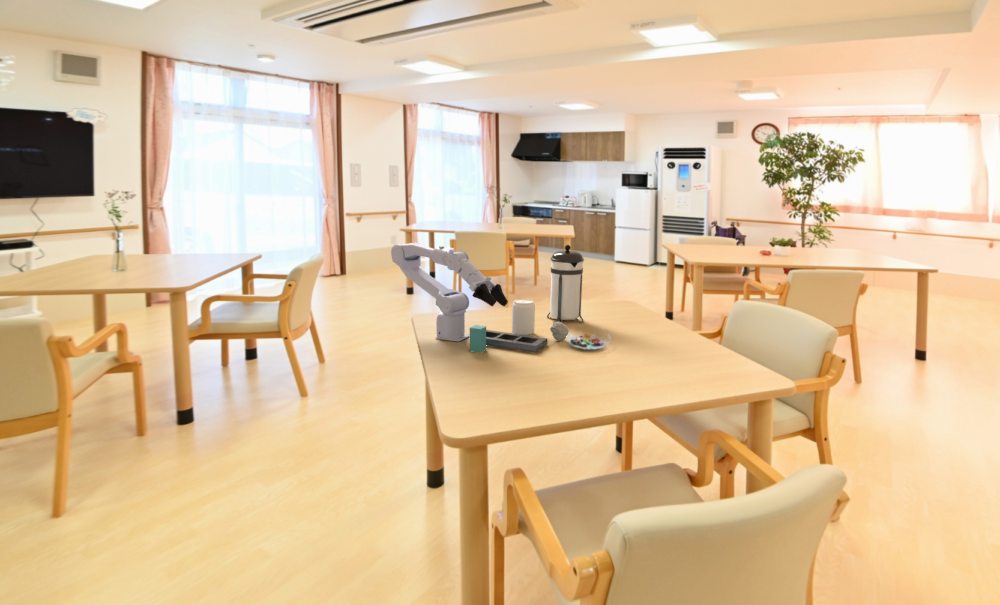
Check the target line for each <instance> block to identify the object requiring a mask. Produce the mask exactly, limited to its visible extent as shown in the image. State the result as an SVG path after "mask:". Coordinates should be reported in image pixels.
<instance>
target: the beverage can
mask: <svg viewBox="0 0 1000 605" xmlns="http://www.w3.org/2000/svg"><path fill="white" fill-rule="evenodd" d="M534 302H535V301H534V300H532V299H528V298H520V299H519V298H518V299H515V300H514V301H513V303H512V305H511V306H512V307H511V310H512V311H511V312H512V315H511V318H512V319H511V333H513V334H520V335H527V336H532V335H533V334H534V333H535V319H536V318H535V316H536V315H535V314H536V304H535V303H534Z"/></svg>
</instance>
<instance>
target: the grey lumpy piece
mask: <svg viewBox="0 0 1000 605" xmlns="http://www.w3.org/2000/svg"><path fill="white" fill-rule="evenodd" d="M550 332H551V333H552V334H551V336H553V338H554V340H555V341H556V342H563V341H564V340H566V339H567V337H568V336H569V335H568V334H569V332H570V331H569V327H568V326H567V325H565V324H563V322H562V321H561V322H556V321H553V323H552V326H551V327H550ZM566 336H567V337H566Z"/></svg>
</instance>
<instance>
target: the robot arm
mask: <svg viewBox="0 0 1000 605" xmlns="http://www.w3.org/2000/svg"><path fill="white" fill-rule="evenodd" d="M390 253H391V254H390V255H391V260H392V262H393V263H394V264H395V265H397V266H398V267H399V268H400V270H401V272H402V273H403V274H404V276H405V277H406V278H407V279H409V280H410V281H412V282H413V283H414V284H415V285H417V286H418V287H419V288H420V289H422V290H423V291H425V292H426V293H427V294H429V295H430V296H431V297H432V298H434V299H435V306H437V307H438V309H439V310H440V312H439V313H438V315H437V317H436V336H435V339H437V340H445V341H451V342H456V343H459V342H461V341H463V340H465V339H467V338H468V337H469V338H470V334H466V333H465V331H466V329H465V319H466V318H465V316H466V315H465V313H466V312H467V310H468V308H469V306H470V299H469V297H468V295H467V294H466V293H464V292H460V291H458V290H457V289H452V288H448V287H446V286H445V285H444V284H442V283H441V282H440V281H439V280H437V279H435V278H434V277H432V276H431V275H430V274H429V273H427V272H426V271H424V270H423V269H422V268H420V267H421V262H422V261H421V257H423V258H424V257H425V258H429V259H431V261H432V262H433V263H435V264H438V265H442V266H445V267H447V270H450V271H454V272H455V273H456V274H458V275H459V276H460V277H461V279H463V280H464V281H465V282H466V283H467V284H468V286H469V287H468V289H470V291H471V292H473V293H472V297H473V298H475V299H478V300H481V301H483V302H484V303H486V304H487V305H489V306H490V307H494V306H495V304H496V303H498V304H499V305H501V306H502V307H506V306H507V304H508V303H509V301H508V298H507V297H506V296H505V294H504V291H503V290H502V285H501V284H500V283H496V284H495V283H493V282H492V281H491V280H492V277H491V276H485V275H484V274H483V273H482V272H481V271H480V270H479V269H478V267H476V266H475V265H474V264H473V263H472V262H471V261H470V259H469V256H468V254H467V252H466V251H463V250H459V251H455V249H453V248H450V249H449V248H445V246H444V245H439V246H436V247H435V248H432V247H430V246H427V245H423V244H421V243H419V242H410V243H401V244H394V245H393V246H392V247H391V250H390Z"/></svg>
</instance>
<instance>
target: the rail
mask: <svg viewBox="0 0 1000 605" xmlns="http://www.w3.org/2000/svg"><path fill="white" fill-rule="evenodd" d="M486 345H487V346H486V347H491V346H492V348H499V349H507V350H512V351H520V352H524V353H531V354H537V353H539V352H540V351H542V350H543V349H544V348H545V347H547V346H548V338H547V337H543V336H542V337H541V336H540V337H539V336H532V335H520V334H514V333H513V332H506V331H498V330H493V329H492V330H490V329H486Z"/></svg>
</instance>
